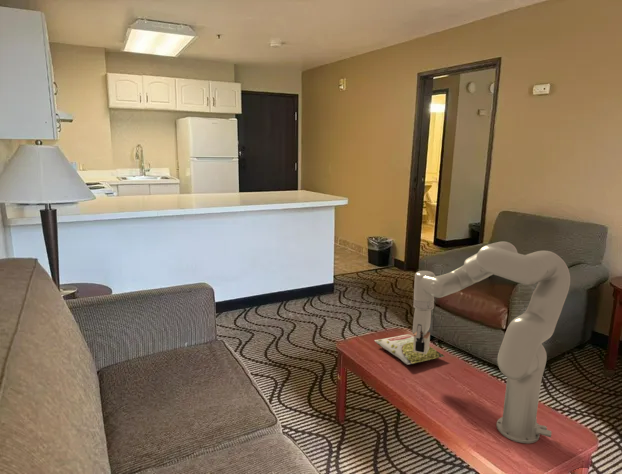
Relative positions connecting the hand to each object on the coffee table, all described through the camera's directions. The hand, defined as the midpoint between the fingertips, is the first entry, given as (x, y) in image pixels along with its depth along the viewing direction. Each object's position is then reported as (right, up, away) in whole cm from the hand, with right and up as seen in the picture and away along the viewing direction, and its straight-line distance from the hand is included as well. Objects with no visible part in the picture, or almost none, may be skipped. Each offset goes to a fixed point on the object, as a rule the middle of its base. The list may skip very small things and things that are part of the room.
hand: (421, 347), depth 163 cm
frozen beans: (+1, -10, +26) cm, 28 cm away
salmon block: (0, -1, 0) cm, 1 cm away
